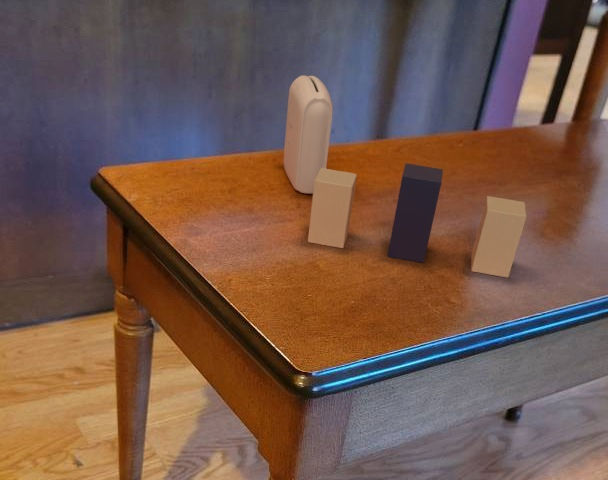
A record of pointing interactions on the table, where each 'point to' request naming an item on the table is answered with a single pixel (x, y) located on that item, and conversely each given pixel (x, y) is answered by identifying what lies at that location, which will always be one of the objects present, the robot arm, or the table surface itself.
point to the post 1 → (331, 207)
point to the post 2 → (498, 236)
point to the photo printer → (307, 132)
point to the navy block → (415, 212)
